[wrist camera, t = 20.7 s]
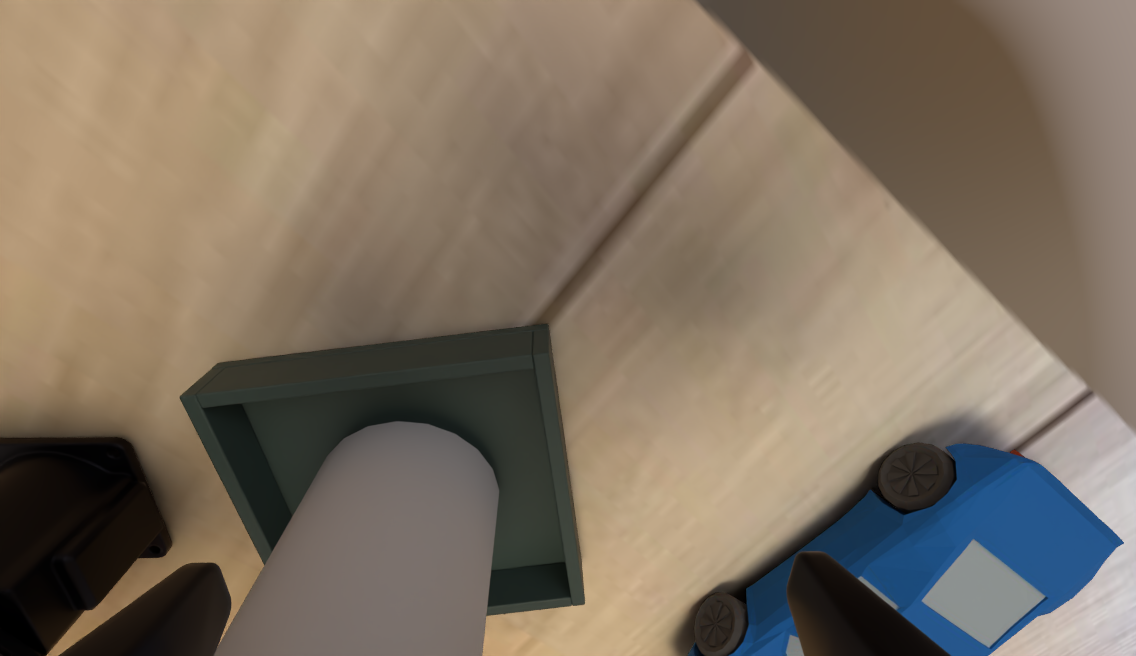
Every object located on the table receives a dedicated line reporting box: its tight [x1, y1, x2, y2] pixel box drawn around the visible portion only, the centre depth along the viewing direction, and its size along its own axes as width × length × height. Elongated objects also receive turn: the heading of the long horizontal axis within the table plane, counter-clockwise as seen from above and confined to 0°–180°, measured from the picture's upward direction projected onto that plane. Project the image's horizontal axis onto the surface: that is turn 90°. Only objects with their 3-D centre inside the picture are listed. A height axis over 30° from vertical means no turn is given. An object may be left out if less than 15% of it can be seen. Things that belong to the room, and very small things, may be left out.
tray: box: [180, 324, 585, 616], centre depth 22 cm, size 13×13×2 cm
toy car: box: [687, 443, 1124, 656], centre depth 25 cm, size 9×20×5 cm, turn 141°
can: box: [214, 421, 499, 656], centre depth 18 cm, size 8×8×12 cm
